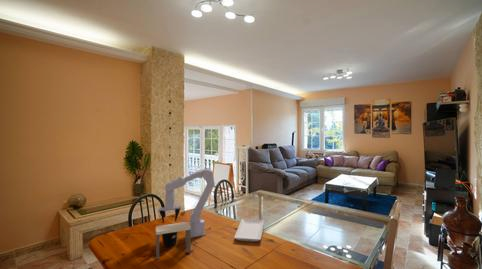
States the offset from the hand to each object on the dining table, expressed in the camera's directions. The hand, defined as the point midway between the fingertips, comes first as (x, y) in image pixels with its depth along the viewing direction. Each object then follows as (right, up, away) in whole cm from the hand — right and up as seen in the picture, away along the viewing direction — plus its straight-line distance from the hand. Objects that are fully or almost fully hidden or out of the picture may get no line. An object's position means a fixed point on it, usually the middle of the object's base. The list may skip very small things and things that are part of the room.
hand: (169, 221), depth 147 cm
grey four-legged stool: (+8, -10, -20) cm, 24 cm away
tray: (+53, -10, +6) cm, 54 cm away
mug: (+4, -10, -10) cm, 15 cm away
